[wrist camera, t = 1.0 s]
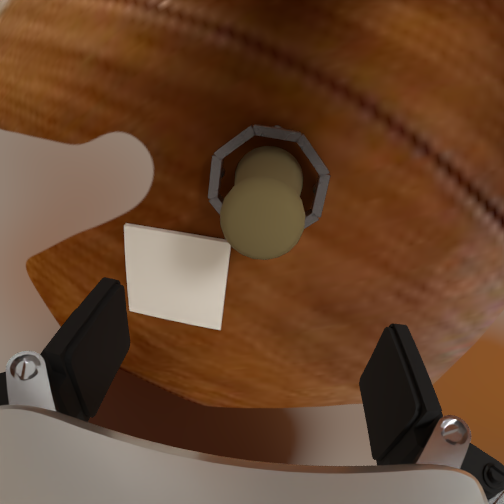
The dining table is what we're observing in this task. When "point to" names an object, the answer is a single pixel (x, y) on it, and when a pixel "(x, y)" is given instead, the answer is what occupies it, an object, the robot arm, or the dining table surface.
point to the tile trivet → (176, 275)
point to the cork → (264, 204)
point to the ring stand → (276, 133)
